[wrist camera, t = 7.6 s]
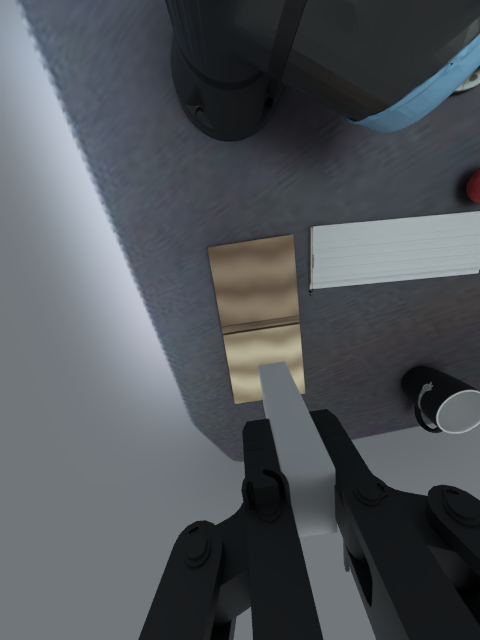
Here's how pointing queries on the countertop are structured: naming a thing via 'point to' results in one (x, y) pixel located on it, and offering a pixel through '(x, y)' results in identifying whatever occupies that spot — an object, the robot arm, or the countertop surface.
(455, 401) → the mug
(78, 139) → the countertop surface
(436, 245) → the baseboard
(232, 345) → the oak plank
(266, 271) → the walnut board
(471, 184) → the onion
